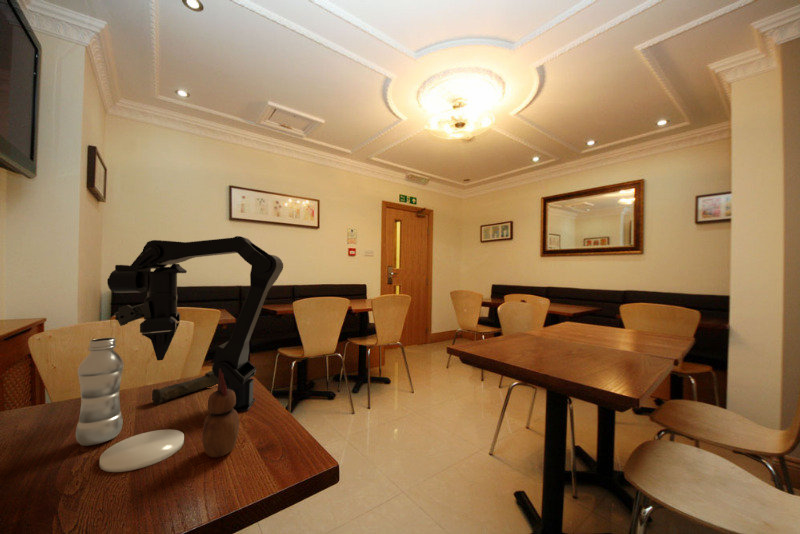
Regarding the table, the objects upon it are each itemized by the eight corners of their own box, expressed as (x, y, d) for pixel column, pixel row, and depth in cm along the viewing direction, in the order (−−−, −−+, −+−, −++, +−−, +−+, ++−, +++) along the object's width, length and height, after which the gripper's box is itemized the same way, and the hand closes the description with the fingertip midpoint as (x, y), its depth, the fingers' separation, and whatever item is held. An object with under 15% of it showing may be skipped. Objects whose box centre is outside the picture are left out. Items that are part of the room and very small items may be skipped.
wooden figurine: (206, 445, 59) (208, 367, 59) (239, 439, 61) (241, 364, 62) (198, 465, 53) (201, 378, 53) (236, 458, 55) (238, 374, 55)
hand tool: (157, 407, 76) (158, 388, 76) (150, 403, 78) (151, 385, 78) (232, 384, 92) (232, 368, 92) (224, 381, 94) (224, 366, 94)
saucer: (195, 432, 64) (196, 427, 64) (160, 468, 52) (160, 462, 52) (131, 436, 62) (131, 431, 62) (79, 475, 50) (79, 469, 50)
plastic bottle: (129, 436, 62) (132, 337, 62) (83, 454, 56) (87, 344, 56) (113, 429, 64) (116, 334, 65) (68, 445, 58) (72, 341, 59)
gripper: (127, 291, 78) (126, 352, 78) (108, 295, 62) (107, 372, 62) (180, 290, 84) (180, 346, 84) (175, 293, 68) (175, 362, 68)
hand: (162, 355), depth 74 cm, fingers open, 9 cm apart
